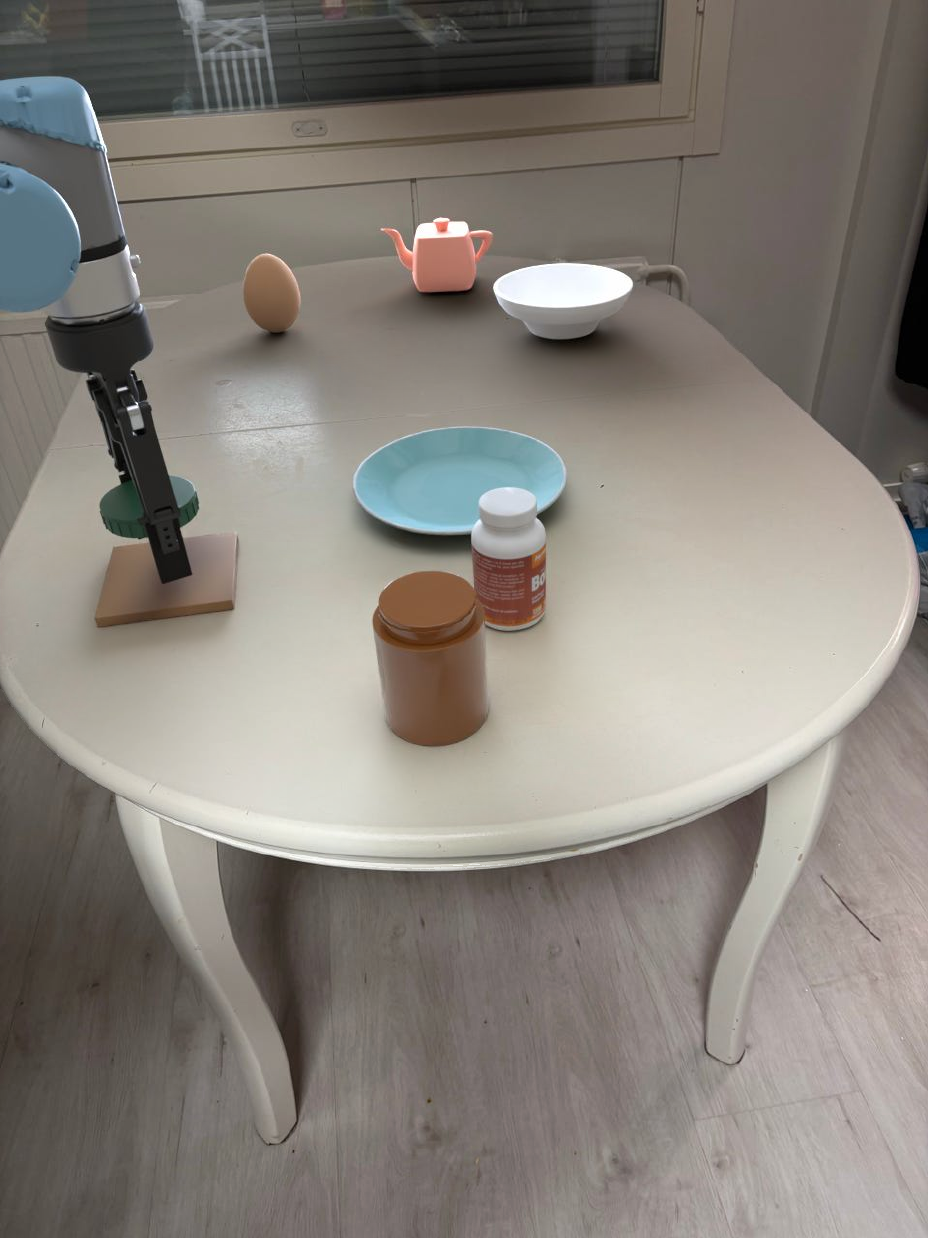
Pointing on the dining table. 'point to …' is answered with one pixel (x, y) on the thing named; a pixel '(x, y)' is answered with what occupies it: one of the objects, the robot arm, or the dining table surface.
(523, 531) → the pill bottle
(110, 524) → the jar lid
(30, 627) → the dining table surface
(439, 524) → the plate
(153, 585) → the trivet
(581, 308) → the bowl
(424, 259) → the teapot
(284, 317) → the egg
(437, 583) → the jam jar
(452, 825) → the dining table surface
